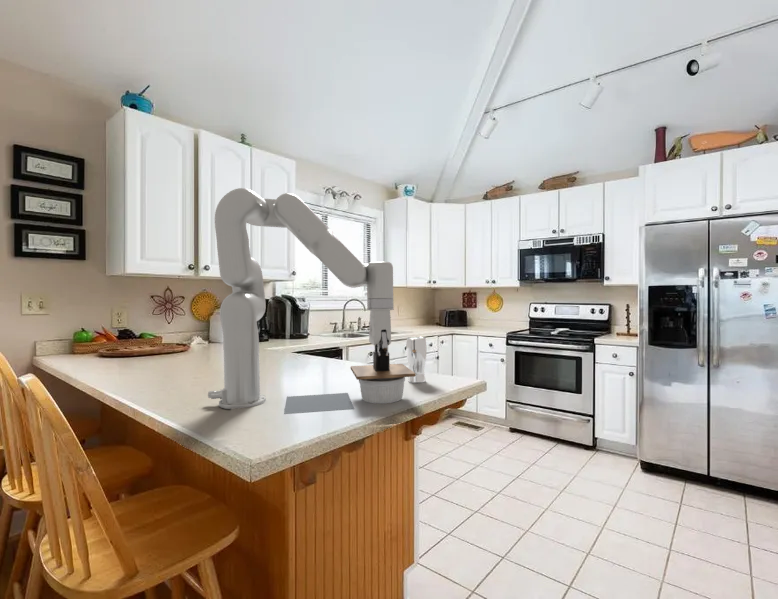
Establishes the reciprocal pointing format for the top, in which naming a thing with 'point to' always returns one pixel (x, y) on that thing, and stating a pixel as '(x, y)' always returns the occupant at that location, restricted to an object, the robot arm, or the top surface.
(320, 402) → the mat
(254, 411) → the top surface
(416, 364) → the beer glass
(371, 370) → the lid
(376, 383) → the ramekin
